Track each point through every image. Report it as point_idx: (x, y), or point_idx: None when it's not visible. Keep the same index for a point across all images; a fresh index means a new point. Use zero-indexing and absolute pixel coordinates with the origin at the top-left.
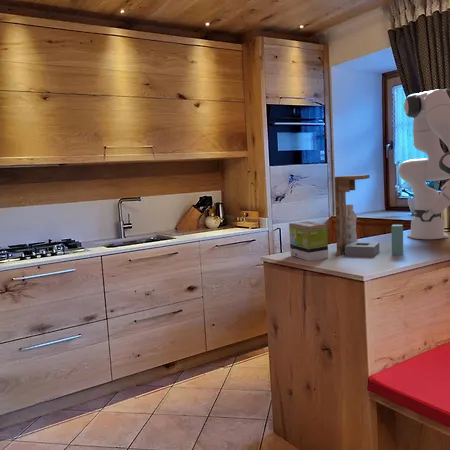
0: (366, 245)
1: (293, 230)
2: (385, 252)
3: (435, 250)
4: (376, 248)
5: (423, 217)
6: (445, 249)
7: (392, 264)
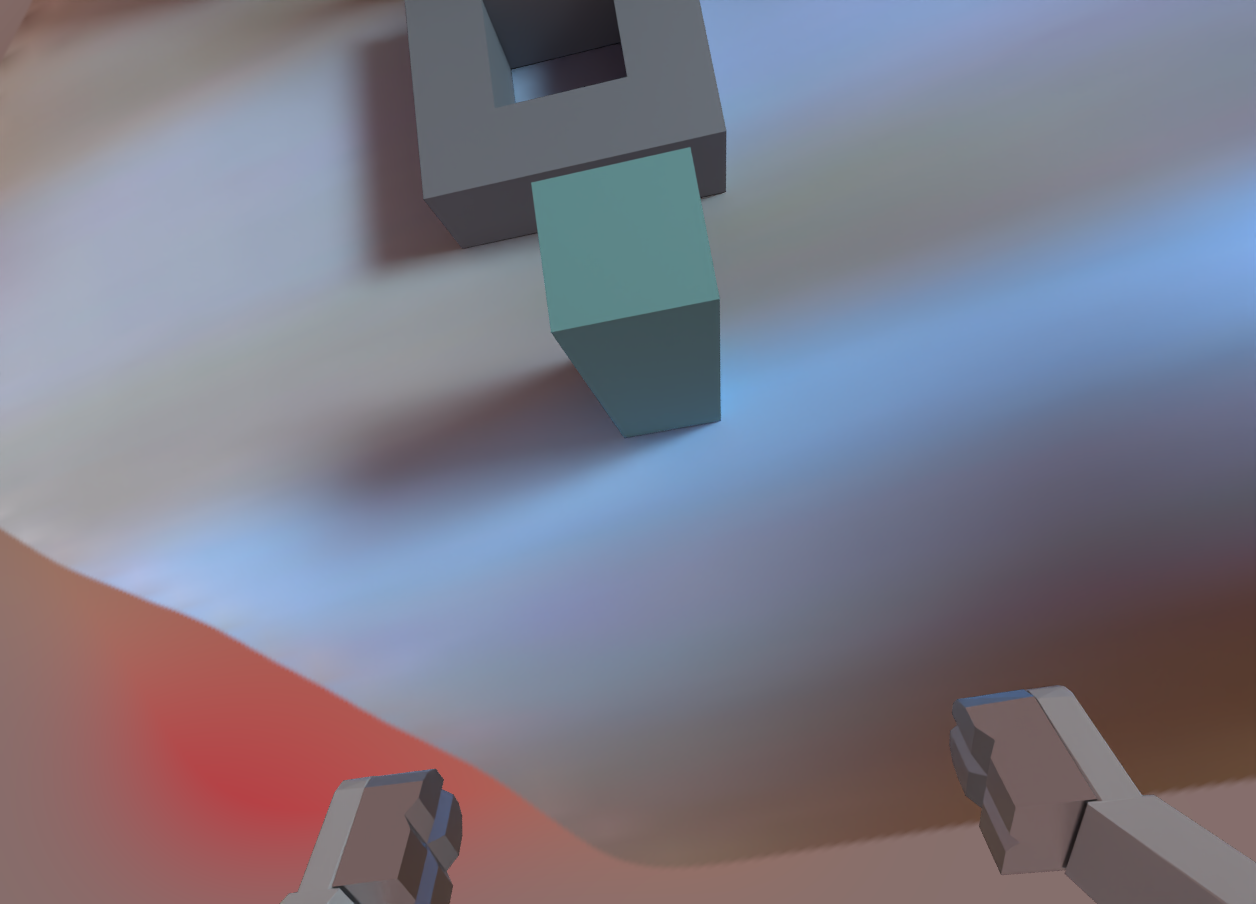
0: (490, 100)
1: None
2: None
3: None
4: None
5: (342, 793)
6: None
7: (192, 495)
